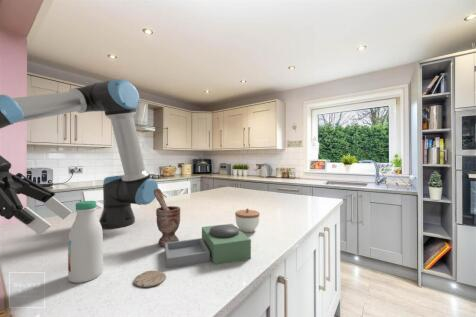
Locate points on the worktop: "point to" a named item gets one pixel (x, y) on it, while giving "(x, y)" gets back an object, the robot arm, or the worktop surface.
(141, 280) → the flatbread
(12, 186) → the robot arm
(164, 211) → the mortar and pestle
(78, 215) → the milk bottle
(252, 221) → the lidded jar
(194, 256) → the grey square tray
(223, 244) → the green box with dome
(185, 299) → the worktop surface
